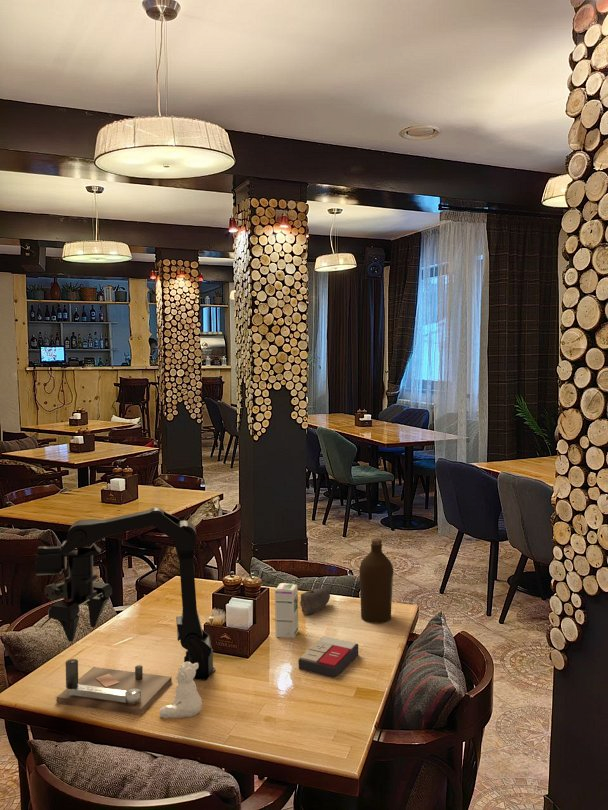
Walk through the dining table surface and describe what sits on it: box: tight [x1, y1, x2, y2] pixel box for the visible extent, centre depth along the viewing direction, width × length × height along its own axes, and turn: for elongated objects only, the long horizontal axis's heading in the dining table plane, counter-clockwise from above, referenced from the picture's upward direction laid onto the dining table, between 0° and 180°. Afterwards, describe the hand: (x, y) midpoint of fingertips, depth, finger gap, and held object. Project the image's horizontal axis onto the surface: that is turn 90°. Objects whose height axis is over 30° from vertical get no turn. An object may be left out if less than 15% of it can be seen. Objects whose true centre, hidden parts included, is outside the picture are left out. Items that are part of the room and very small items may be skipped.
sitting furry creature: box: [158, 661, 203, 719], centre depth 154 cm, size 10×9×12 cm
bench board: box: [55, 664, 173, 716], centre depth 163 cm, size 22×16×4 cm
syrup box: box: [274, 582, 299, 639], centre depth 197 cm, size 6×6×14 cm
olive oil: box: [358, 538, 394, 624], centre depth 210 cm, size 11×11×25 cm
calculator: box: [298, 635, 359, 678], centre depth 179 cm, size 11×4×15 cm
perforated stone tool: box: [299, 587, 331, 615], centre depth 217 cm, size 15×5×7 cm, turn 141°
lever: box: [65, 658, 141, 705], centre depth 157 cm, size 19×4×8 cm, turn 76°
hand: (82, 634), depth 166 cm, fingers open, 9 cm apart
